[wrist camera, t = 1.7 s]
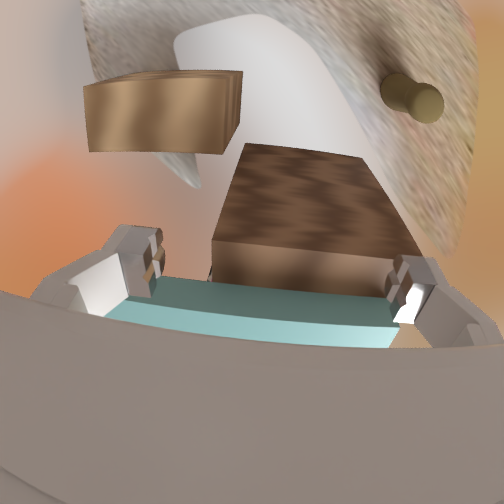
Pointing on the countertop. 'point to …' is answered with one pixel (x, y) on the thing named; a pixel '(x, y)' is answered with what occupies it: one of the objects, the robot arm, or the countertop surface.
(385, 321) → the teal bar
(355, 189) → the walnut stand
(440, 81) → the countertop surface
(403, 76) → the cork
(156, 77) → the oak block
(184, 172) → the countertop surface
